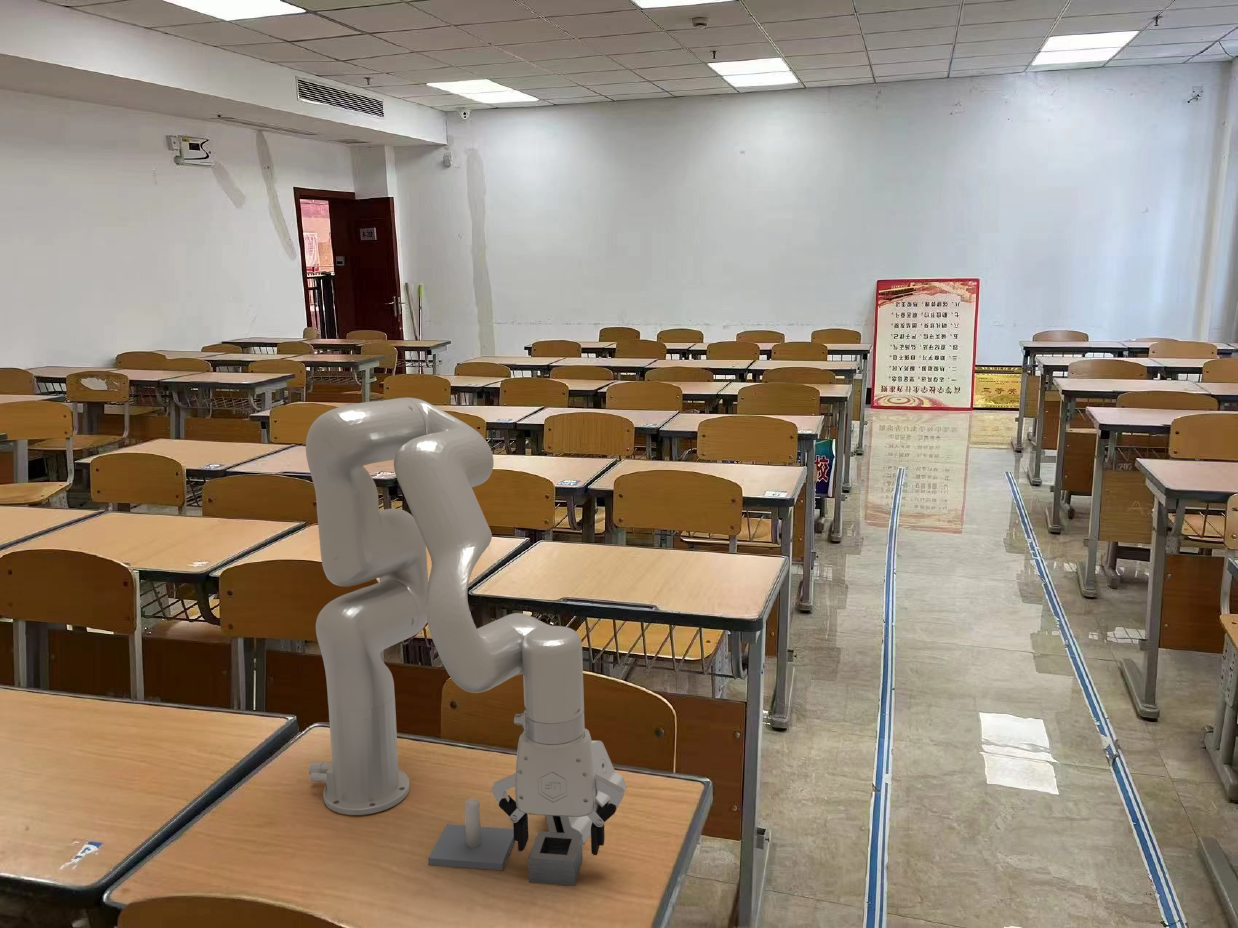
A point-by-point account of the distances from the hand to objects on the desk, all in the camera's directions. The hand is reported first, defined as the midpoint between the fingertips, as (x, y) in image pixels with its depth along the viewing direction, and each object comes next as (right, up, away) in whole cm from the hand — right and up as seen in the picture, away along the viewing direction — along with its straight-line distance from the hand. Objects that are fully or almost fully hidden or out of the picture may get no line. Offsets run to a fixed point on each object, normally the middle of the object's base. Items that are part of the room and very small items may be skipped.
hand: (559, 847), depth 122 cm
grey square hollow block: (-1, -3, +1) cm, 4 cm away
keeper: (-12, -3, +5) cm, 13 cm away
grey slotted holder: (+2, -1, +15) cm, 16 cm away
